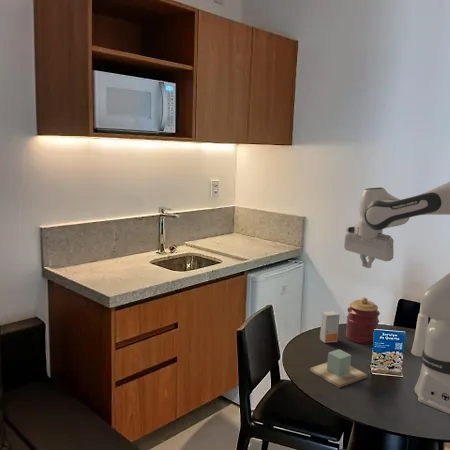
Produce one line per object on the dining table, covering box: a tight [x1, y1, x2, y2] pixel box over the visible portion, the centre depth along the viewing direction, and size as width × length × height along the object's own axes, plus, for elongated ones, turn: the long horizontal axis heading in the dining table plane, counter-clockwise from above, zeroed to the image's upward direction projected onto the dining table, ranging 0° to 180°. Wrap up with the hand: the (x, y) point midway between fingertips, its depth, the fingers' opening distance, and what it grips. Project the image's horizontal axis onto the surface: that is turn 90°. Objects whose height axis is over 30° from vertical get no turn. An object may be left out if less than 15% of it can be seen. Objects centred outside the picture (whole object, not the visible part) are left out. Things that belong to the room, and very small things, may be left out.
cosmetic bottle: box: [410, 304, 429, 358], centre depth 188 cm, size 6×6×22 cm
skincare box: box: [319, 310, 341, 343], centre depth 198 cm, size 6×4×12 cm
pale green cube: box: [326, 348, 352, 377], centre depth 171 cm, size 6×6×7 cm
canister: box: [345, 297, 381, 345], centre depth 202 cm, size 13×13×18 cm
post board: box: [309, 361, 368, 389], centre depth 171 cm, size 14×14×7 cm
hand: (366, 267), depth 181 cm, fingers closed
